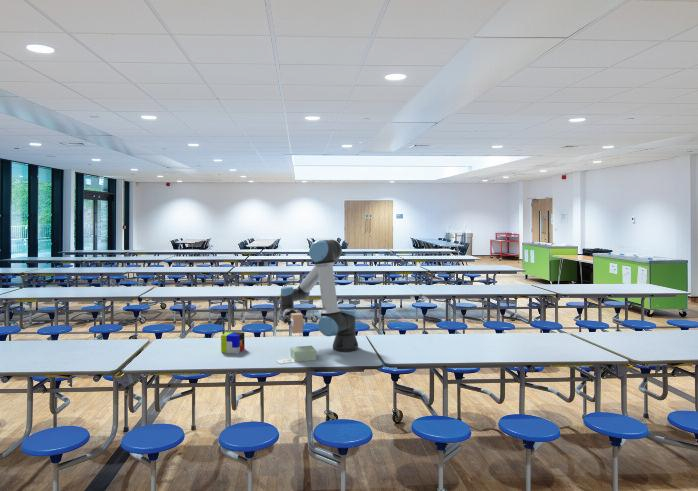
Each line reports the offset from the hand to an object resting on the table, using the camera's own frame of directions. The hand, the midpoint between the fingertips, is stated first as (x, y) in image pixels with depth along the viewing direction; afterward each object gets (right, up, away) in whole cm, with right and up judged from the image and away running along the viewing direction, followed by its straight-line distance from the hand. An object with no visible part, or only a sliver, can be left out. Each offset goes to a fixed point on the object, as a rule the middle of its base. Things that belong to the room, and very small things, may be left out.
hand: (298, 322), depth 278 cm
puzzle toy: (-40, -20, +21) cm, 49 cm away
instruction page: (-6, -20, -1) cm, 21 cm away
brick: (-2, -6, +5) cm, 8 cm away
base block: (+2, -20, +5) cm, 21 cm away
